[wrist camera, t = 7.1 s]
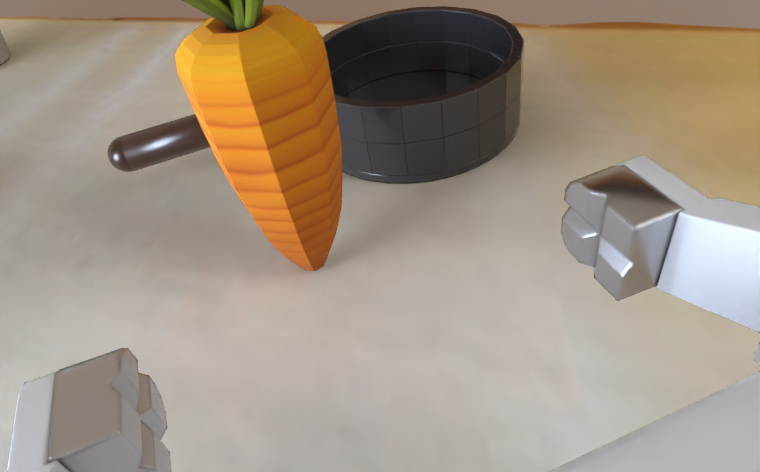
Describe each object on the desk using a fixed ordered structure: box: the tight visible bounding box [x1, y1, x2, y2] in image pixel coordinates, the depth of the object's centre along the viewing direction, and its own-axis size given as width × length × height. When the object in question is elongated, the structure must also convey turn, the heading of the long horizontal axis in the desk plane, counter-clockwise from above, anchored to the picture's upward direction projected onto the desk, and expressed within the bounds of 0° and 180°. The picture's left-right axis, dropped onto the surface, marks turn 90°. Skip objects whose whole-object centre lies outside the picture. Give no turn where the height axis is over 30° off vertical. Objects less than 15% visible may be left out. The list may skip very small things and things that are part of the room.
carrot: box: [175, 0, 342, 271], centre depth 20 cm, size 5×5×15 cm
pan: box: [322, 6, 524, 183], centre depth 32 cm, size 12×12×4 cm
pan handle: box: [108, 114, 210, 172], centre depth 29 cm, size 11×2×2 cm, turn 112°
